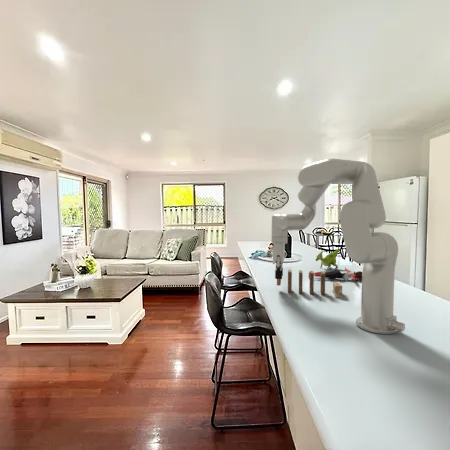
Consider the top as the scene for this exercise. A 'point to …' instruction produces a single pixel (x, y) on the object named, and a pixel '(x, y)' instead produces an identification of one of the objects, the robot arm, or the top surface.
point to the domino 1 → (279, 280)
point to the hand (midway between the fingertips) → (279, 277)
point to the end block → (337, 289)
